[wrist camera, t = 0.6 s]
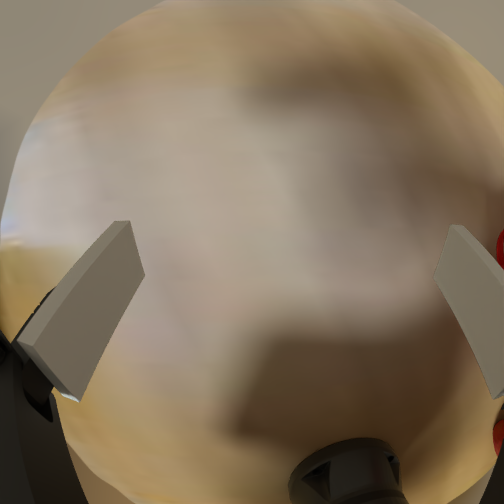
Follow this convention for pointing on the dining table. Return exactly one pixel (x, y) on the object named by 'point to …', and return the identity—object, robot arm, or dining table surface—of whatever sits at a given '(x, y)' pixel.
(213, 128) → the dining table surface
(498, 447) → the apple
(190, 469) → the dining table surface
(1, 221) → the dining table surface
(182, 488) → the dining table surface
